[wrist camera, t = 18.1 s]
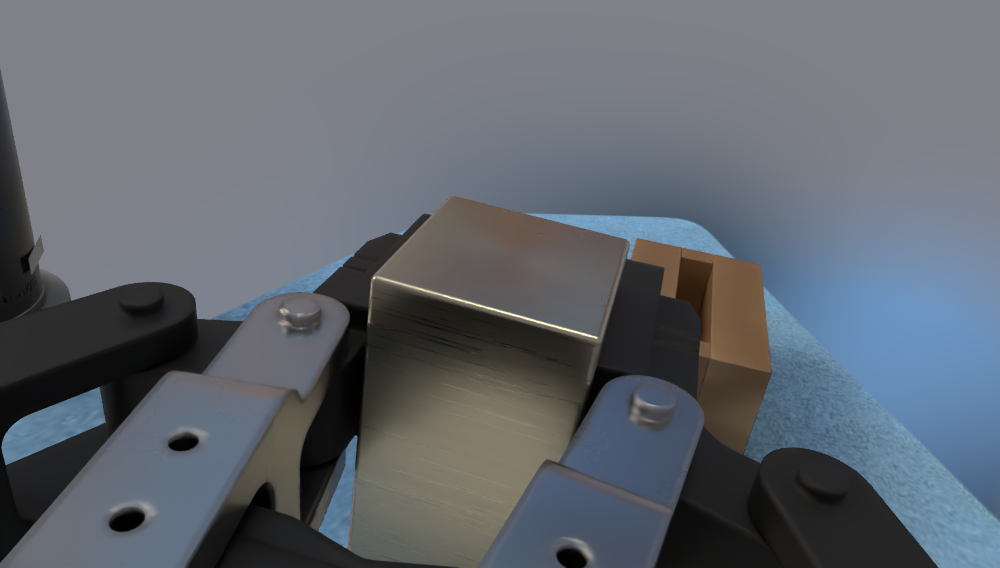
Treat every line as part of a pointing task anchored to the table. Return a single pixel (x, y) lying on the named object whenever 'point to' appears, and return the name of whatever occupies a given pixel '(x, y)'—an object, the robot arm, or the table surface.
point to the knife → (473, 375)
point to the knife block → (721, 333)
